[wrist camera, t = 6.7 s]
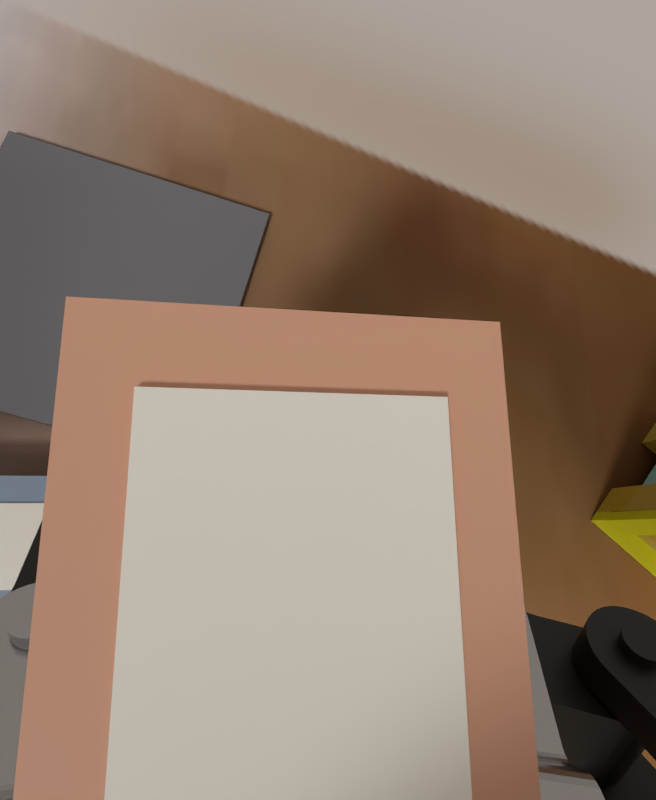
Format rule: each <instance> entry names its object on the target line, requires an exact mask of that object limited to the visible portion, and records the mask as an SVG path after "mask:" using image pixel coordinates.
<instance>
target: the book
mask: <svg viewBox="0 0 656 800" xmlns="http://www.w3.org/2000/svg"><path fill="white" fill-rule="evenodd" d="M642 443H643V444H644V445H645V446H646V447H647V448H648V449H650V450H651V451H652V452H653V453H654V454H655V455H656V422H655V424H654V425H653V427H652V428H651V430H650V431H649V433H648V434H647V436H646V437H645V439H644V440H643V442H642ZM591 521H592V522H593V523H594V524H595V525H597V526H598V527H599V528H600V529H601V530H602V531H603V532H605V533H606V534H607V535H608V536H609V537H610V538H611V539H613V540H614V541H615V542H616V543H617V544H618V545H619V546H621V547H622V548H623V549H624V550H625V551H626V552H628V553H629V554H630V555H631V556H632V557H633V558H634V559H636V560H637V561H638V562H639V563H640V564H641V565H642V566H644V567H645V568H646V569H647V570H648V571H649V572H650V573H652V574H653V575H654V576H655V577H656V464H655V466H654V468H653V469H652V471H651V472H650V474H649V475H648V477H647V478H646V480H645V482H644V483H643V485H637V486H628V487H620V488H612V489H611V491H610V492H609V494H608V495H607V497H606V498H605V500H604V501H603V503H602V504H601V506H600V507H599V509H598V510H597V512H596V513H595V515H594V516H593V518H592V519H591Z"/></svg>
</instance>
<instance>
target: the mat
mask: <svg viewBox="0 0 656 800" xmlns="http://www.w3.org/2000/svg"><path fill="white" fill-rule="evenodd" d="M268 219H269V213H265V212H262V211H259V210H256V209H253V208H250V207H247V206H243V205H240V204H237V203H234V202H231V201H228V200H225V199H221V198H218V197H215V196H212V195H209V194H206V193H202V192H199V191H196V190H193V189H190V188H187V187H184V186H180V185H177V184H174V183H171V182H168V181H165V180H162V179H158V178H155V177H152V176H149V175H146V174H143V173H140V172H136V171H133V170H130V169H127V168H124V167H121V166H118V165H114V164H111V163H108V162H105V161H102V160H99V159H95V158H92V157H89V156H86V155H83V154H80V153H77V152H73V151H70V150H67V149H64V148H61V147H58V146H55V145H51V144H48V143H45V142H42V141H39V140H36V139H33V138H29V137H26V136H23V135H20V134H17V133H14V132H11V131H9V132H8V134H7V136H6V138H5V140H4V142H3V144H2V146H1V148H0V412H3V413H7V414H10V415H14V416H18V417H21V418H25V419H29V420H33V421H36V422H40V423H44V424H47V425H51V426H52V424H53V414H54V405H55V395H56V386H57V377H58V367H59V358H60V348H61V339H62V329H63V320H64V310H65V301H66V296H68V297H85V298H102V299H119V300H136V301H153V302H170V303H187V304H204V305H220V306H237V307H240V306H241V303H242V300H243V297H244V294H245V291H246V288H247V284H248V281H249V278H250V275H251V272H252V269H253V266H254V263H255V260H256V257H257V253H258V250H259V247H260V244H261V241H262V238H263V235H264V232H265V229H266V225H267V222H268Z"/></svg>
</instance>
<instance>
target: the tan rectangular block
mask: <svg viewBox="0 0 656 800" xmlns="http://www.w3.org/2000/svg"><path fill="white" fill-rule="evenodd" d="M13 800H541V794H540V783H539V771H538V759H537V748H536V736H535V724H534V713H533V701H532V689H531V678H530V666H529V655H528V643H527V631H526V620H525V608H524V596H523V585H522V573H521V561H520V550H519V538H518V527H517V515H516V503H515V492H514V480H513V468H512V457H511V445H510V433H509V422H508V410H507V399H506V387H505V375H504V364H503V352H502V340H501V329H500V322H492V321H475V320H458V319H441V318H424V317H407V316H390V315H373V314H356V313H339V312H322V311H305V310H288V309H271V308H254V307H237V306H220V305H204V304H187V303H170V302H153V301H136V300H119V299H102V298H85V297H68V296H66V301H65V310H64V320H63V329H62V339H61V348H60V358H59V367H58V377H57V386H56V395H55V405H54V414H53V424H52V433H51V443H50V452H49V461H48V471H47V480H46V490H45V499H44V509H43V518H42V528H41V537H40V546H39V556H38V565H37V575H36V584H35V594H34V603H33V613H32V622H31V631H30V641H29V650H28V660H27V669H26V679H25V688H24V698H23V707H22V716H21V726H20V735H19V745H18V754H17V764H16V773H15V782H14V792H13Z"/></svg>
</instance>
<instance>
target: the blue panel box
mask: <svg viewBox="0 0 656 800" xmlns="http://www.w3.org/2000/svg"><path fill="white" fill-rule="evenodd" d="M46 480H47V476H0V598H2V597H3V596H5V595H7V594H8V593H10V592H11V590H12V588H13V587H14V585H15V582H16V580H17V578H18V575H19V573H20V571H21V568H22V566H23V564H24V561H25V559H26V557H27V554H28V552H29V550H30V547H31V545H32V543H33V540H34V538H35V536H36V533H37V531H38V529H39V526H40V524H41V521H42V518H43V509H44V499H45V490H46Z"/></svg>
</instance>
